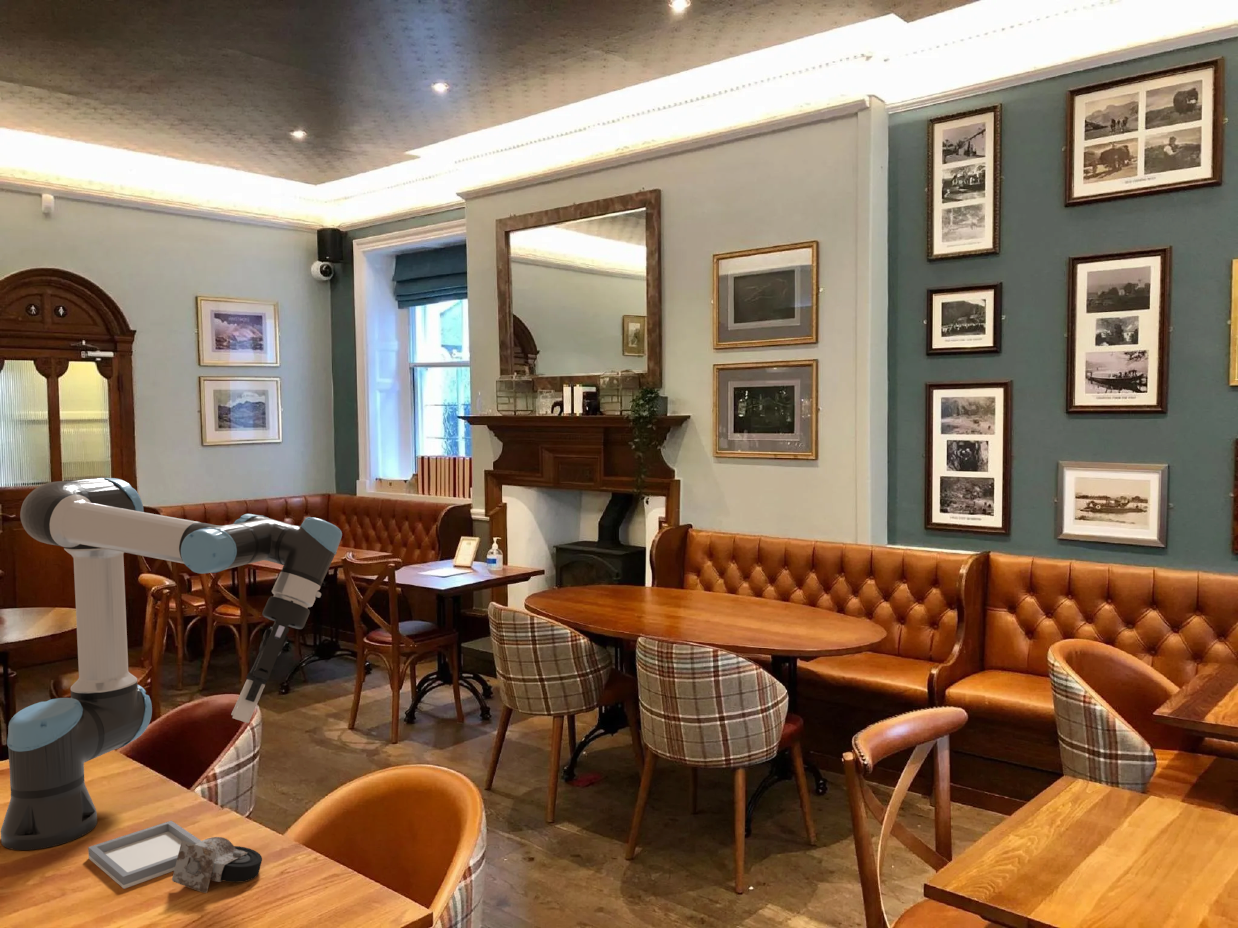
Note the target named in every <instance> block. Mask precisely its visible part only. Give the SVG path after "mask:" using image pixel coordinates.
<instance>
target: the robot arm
mask: <svg viewBox="0 0 1238 928" xmlns="http://www.w3.org/2000/svg"><path fill="white" fill-rule="evenodd" d="M143 504H144V503H143V501H142V498H141V496H140V494H139V493H138V491H137V490H136V489H135V488H134V487H132V485H131V484H130V483H129V482H127V481H125V480H123V479H121V478H117V477H116V478H115V477H101V476H100V477H91V478H85V479H74V480H65V481H64V480H63V481H62V480H61V481H60V480H58V481H52V482H47V483H45V484H41V485H39V486H38V487H36V488H34V489H33V490H32V491H31V492H29V494H28V495H27V496H26V497H25V498H24V500H23V502H22V505H21V508H20V516H19V518H20V522H21V524H22V527H23V529H24V530H25V532H26V533H27V534H28V536H30V537H31V538H33V540H36V541H37V542H40V543H44V544H47V545H53V546H57V547H58V546H59V547H62V548H63V550H64V551H66V552H67V553H68V554H69V555H71V557H72V558H73V574H74V575H73V576H74V577H73V578H74V595H75V617H76V618H75V619H76V621H75V622H76V640H77V659H78V660H77V662H78V678H77V680H76V681H75V682H74V683H73V684H72V685H71V686H70V697H58V698H52V699H51V698H50V699H49V700H47V701H39V702H37V703H36V702H35V703H34V704H31V705H29V706H26V707H24V708H23V709H21V710H19V711H18V712H16V713H15V714H14V715H13V717H11V719H10V720H9V721H8V726H7V727H8V728H7V729H8V734H7V738H6V745H7V747H8V749H7V750H8V765H9V782H10V783H9V785H10V800H9V803H8V807H7V809H6V811H5V815H4V816H5V817H4V819H3V822H2V825H1V829H0V842H1V845H2V846H3V847H5V848H6V849H9V850H16V851H28V850H29V851H33V850H40V849H45V848H50V847H55V846H60V845H62V844H65V843H69V842H71V841H74V840H76V839H78V838H80V837H83V836H84V835H87V834H88V833H90V832H91V831H93V830H94V829H95V828H96V826H97V824H98V815H97V808H96V806H95V803H94V802H93V800H92V797H91V796H90V793H89V790H88V789H87V786H86V783H85V782H86V781H85V763H87V762H89V761H91V760H95V759H96V758H98V757H101V756H103V755H105V754H107V753H110V752H112V751H114V750H118V749H120V748H121V749H122V748H124V747H126V746H127V745H128V744H130V743H132V742H133V741H135V740H137V739H138V738H140V737H141V736H142V735H143V734H144V732H146V730H147V729H148V726H149V725H150V722H151V719H152V714H153V707H152V706H153V705H152V700H151V698H150V695H148V694H146V693H147V691H146V689H145V688H144V687H142V685H139V684H138V677H137V676H135V675H134V674H132V673H131V672H130V671H129V655H128V635H127V634H128V633H127V631H128V630H127V629H128V628H127V609H126V608H127V607H126V585H125V566H124V565H125V564H124V554H125V553H127V554H131V555H136V556H141V557H147V558H153V559H158V560H164V561H169V562H174V563H180V564H184V565H185V566H186V567H187V568H188V569H189V570H191V572H193V573H197V574H203V575H204V574H209V573H210V574H216V573H220V572H222V571H225V570H229V569H233V568H236V567H242V566H244V565H250V564H254V563H258V562H262V561H265V562H266V561H267V562H272V563H274V564H278V565H281V566H282V569H281V570H280V572H279V574H278V577H277V579H276V581H275V583H274V585H273V588H272V589H271V593H272V594H273V596H272V595H271V596H270V597H269V598H267V599H268V600H267V602H266V604H265V606H264V607H263V609H262V610H263V611H262V614H261V615H262V616H263V617H264V618H265V619H268V620H270V621H273V625H272V626H270V628H267V629H265V631H264V633H263V635H262V640H261V642H260V645H259V648H258V655H257V656H256V659H255V661H254V664H253V666H252V667H251V670H249V672H248V673H247V675H246V677H245V678H246V681H245V683H244V685H243V687H242V689H241V691H240V694H239V696H238V698H237V700H236V703H235V705H234V708H233V709H232V712H231V716H232V718H231V719H235V720H237V721H241V722H243V723H246V724H249V723H250V721H251V719H252V716H253V714H254V712H255V709H256V707H257V704H258V702H259V701H260V698H261V696H262V693H263V691H264V689H265V686H266V683H267V682H268V681H269V679H270V677H271V673H272V670H273V668H274V665H275V663H276V661H277V658H278V657H279V656H280V655H281V653H282V651H283V648H284V647H285V646H286V644H287V643H288V640H289V636H288V635H287V634H289V630H290V628H292V629H297V630H302V629H303V628H304V627H305V625H306V624H307V623H306V622H307V620H308V618H309V615H310V613H311V611H310V609H308V608H311V607H313V605H314V603H315V601H316V598H319V599H320V598H321V596H322V593H321V592H320V589H321V587H322V585H323V582H324V579H325V577H326V575H327V573H328V571H329V569H330V566H331V564H332V562H333V560H334V558H335V556H336V555H337V553H338V552H337V551H338V548H339V545H340V542H341V540H342V536H343V533H342V532H343V531H342V530H341V529H340V528H339V527H338V526H336V525H335V524H333V523H331V522H329V521H326V520H325V519H322V518H318V517H311V516H308V517H306V518H304V519H303V522H302V523H301V525H294V524H290V523H288V522H284V521H280V520H276V519H273V518H269V517H267V516H265V515H262V514H261V515H260V514H254V513H253V514H252V513H245V514H243V515H240V518H238V519H235V521H234V522H233V523H231V524H224V525H221V524H220V525H216V524H211V523H206V522H200V521H197V520H196V521H194V520H190V519H186V518H185V519H184V518H177V517H173V516H167V515H162V514H156V513H155V514H154V513H150V512H145V511H144V505H143ZM289 627H290V628H289Z"/></svg>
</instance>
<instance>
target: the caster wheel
mask: <svg viewBox="0 0 1238 928" xmlns="http://www.w3.org/2000/svg"><path fill="white" fill-rule="evenodd" d="M262 861H263V856H262V855H261V853H259V852H258V851H256V850H254V849H252V848H249V847H245V846H239V845H238V846H237V845H234V844H233V843H232V842H231V841H230V840H229V839H227V838H225V837H222V836H211V837H208V838H205V839H203V840H201V841H200V842H198V843H196V844H192V843H189V842H186V841H182V842H181V846H180V850H179V854H178V858H177V862H176V865H175V869H174V871H173V873H172V874H173V875H172V878H171V880H172V882H173V883H175V884H178V885H181V886H183V887H187V888H188V889H193V890H195V891H197V892H201V893H204V894H207V893H208V890H209V886H210V882H211V881H212V882H218V883H222V882H229V883H243V882H248V881H252V880H253V879H255V878H257V877H258V875H259V874H260V871H261V866H262Z"/></svg>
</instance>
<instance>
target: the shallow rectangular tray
mask: <svg viewBox="0 0 1238 928" xmlns="http://www.w3.org/2000/svg"><path fill="white" fill-rule="evenodd" d="M182 841H186V842H189V843H192V844H196V843H198V842H200V841H202V840H201V839H200V838H198V837H196V836H195V835H193V834H192V833H191V832H189V831H188V830H186V829H185V828H183V827H182V826H181V825H178V823H176V822H174V821H173V820H168V821H166V822H163V823H159V824H156V825H153V826H150V827H147V828H144V829H141V830H137V831H134V832H132V833H128V834H125V835H122V836H119V837H118V836H117V837H116V838H113V839H109V840H106V841H103V842H100V843H97V844H94V845H93V844H92V845H90V846H88V847H87V848H88V851H87V852H88V859H89V860H90V861H91V862H92V863H93V864H94V865H96V866H97V867H98V868H99V869H100V870H101V871H103V872H104V873H105V874H106V875H107V876H108V877H109V878H110V879H112V880H113V881H114V882H115V883H116V884H118V885H119V886H120V887H121V888H122V889H127V888H131V887H133V886H136V885H138V884H142V883H143V882H147V881H149V880H152V879H154V878H157V877H161V876H164V875H165V874H169V873H172V872H174V869H175V865H176V862H177V858H178V854H179V850H180V846H181V842H182Z"/></svg>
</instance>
